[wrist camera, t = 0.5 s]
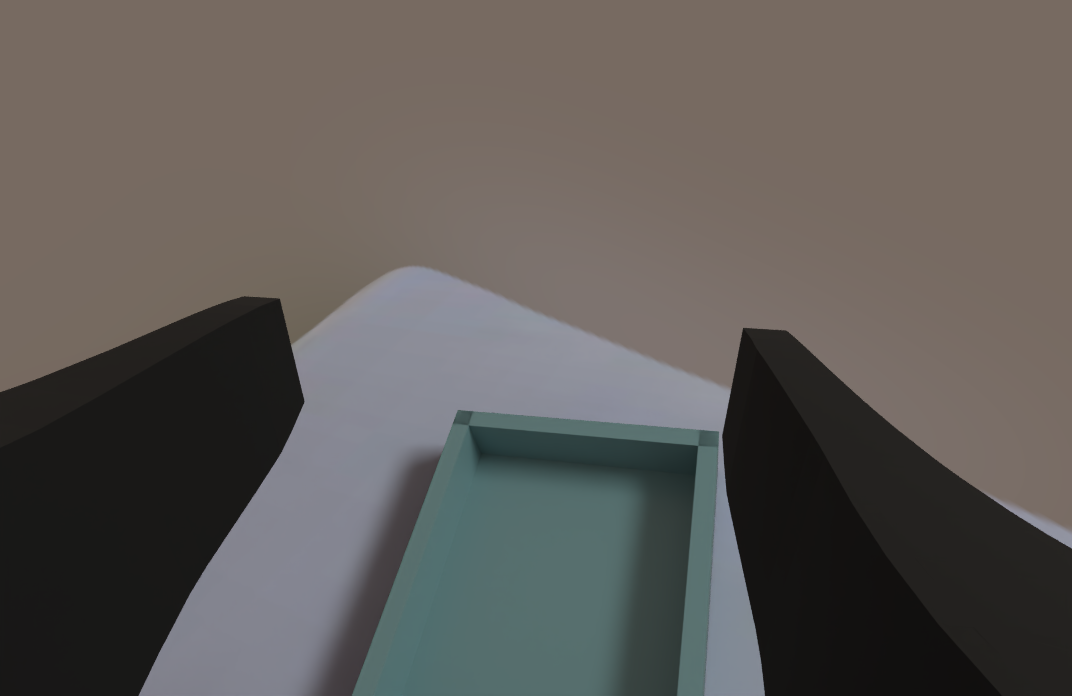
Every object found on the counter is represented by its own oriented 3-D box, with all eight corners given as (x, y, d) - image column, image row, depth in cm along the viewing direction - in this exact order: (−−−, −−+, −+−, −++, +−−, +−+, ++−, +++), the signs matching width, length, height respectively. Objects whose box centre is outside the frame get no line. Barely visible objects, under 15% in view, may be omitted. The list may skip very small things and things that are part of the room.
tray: (695, 842, 21) (694, 830, 19) (368, 757, 25) (335, 739, 22) (717, 468, 30) (718, 431, 28) (473, 445, 33) (457, 410, 31)
